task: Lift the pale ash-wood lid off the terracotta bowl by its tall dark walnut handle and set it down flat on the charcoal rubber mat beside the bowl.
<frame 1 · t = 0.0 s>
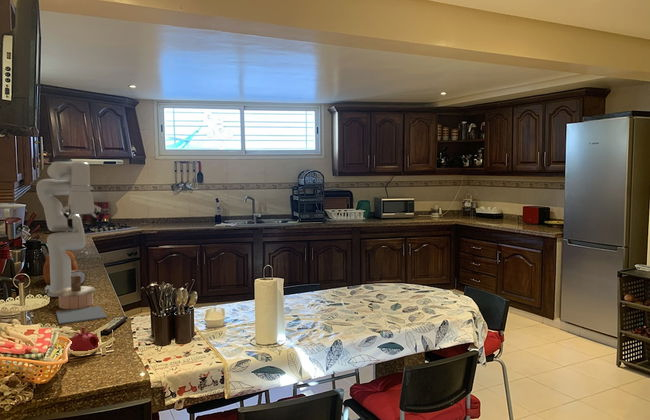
hand: (81, 226, 223), 37 cm above the table, tool pointing down, fingers open, 9 cm apart
bread: (61, 280, 282), on the table
lid: (76, 292, 229), point 6 cm above the table, touching bowl
pomegranate: (83, 354, 168), on the table
bowl: (76, 304, 229), on the table
tin: (72, 286, 268), on the table
mat: (80, 315, 213), on the table
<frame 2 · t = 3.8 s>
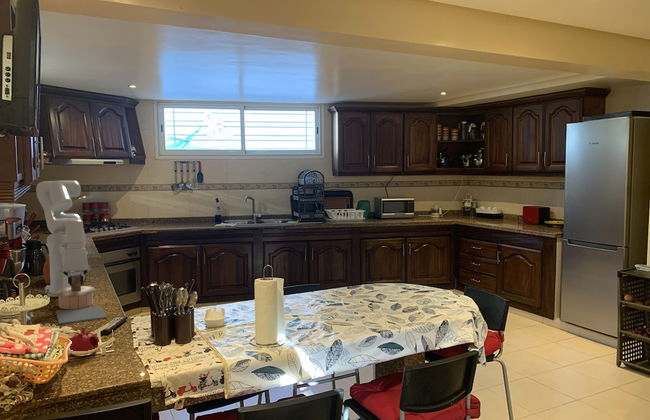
hand: (75, 284, 229), 10 cm above the table, tool pointing down, fingers closed on lid, 3 cm apart
lid: (76, 292, 229), point 6 cm above the table, touching bowl, gripper
everything else where it was.
when the fingers open (6 cm above the table, at t = 11.7 s): lid drops 2 cm, resting on mat.
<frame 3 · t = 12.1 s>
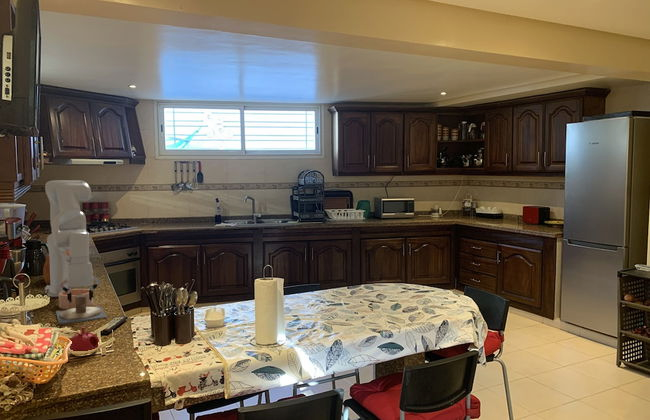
hand: (80, 300, 212), 7 cm above the table, tool pointing down, fingers open, 7 cm apart
lid: (80, 313, 213), point 1 cm above the table, touching mat
everything else where it was.
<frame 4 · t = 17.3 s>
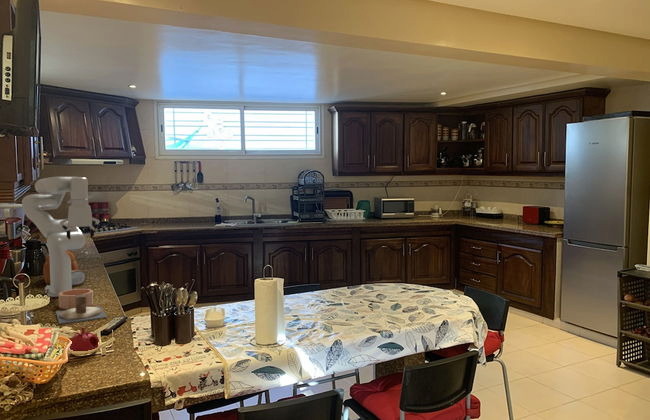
hand: (80, 238, 236), 30 cm above the table, tool pointing down, fingers open, 9 cm apart
nothing on the table moved.
at the end: lid inside the target area on the mat (0.1 cm from its centre), point 0.6 cm above the mat's base; lid tilted 0°; the gripper is holding nothing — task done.
